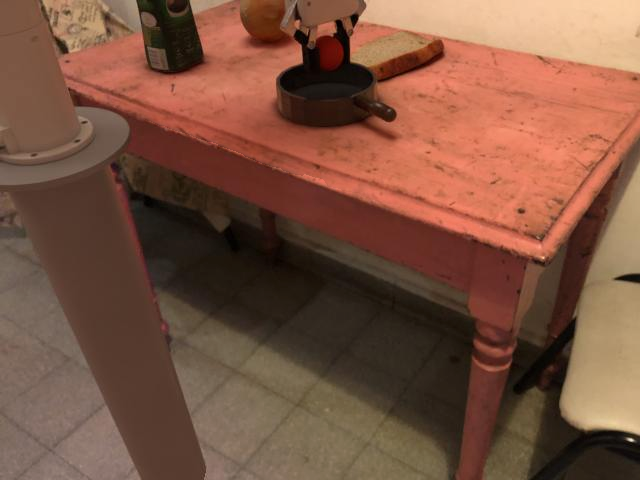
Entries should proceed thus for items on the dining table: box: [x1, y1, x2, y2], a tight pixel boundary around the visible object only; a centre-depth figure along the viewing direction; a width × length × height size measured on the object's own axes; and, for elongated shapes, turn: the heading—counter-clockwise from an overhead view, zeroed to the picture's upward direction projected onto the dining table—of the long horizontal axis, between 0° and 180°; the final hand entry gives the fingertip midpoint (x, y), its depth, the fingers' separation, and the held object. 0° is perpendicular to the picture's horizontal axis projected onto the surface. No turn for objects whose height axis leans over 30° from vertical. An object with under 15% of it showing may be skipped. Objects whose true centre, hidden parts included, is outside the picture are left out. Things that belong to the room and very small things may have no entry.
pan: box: [275, 62, 379, 127], centre depth 90 cm, size 15×15×4 cm
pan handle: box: [354, 94, 398, 123], centre depth 83 cm, size 2×8×2 cm, turn 40°
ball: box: [315, 34, 344, 71], centre depth 86 cm, size 5×5×5 cm
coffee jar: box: [135, 0, 205, 73], centre depth 99 cm, size 10×8×19 cm
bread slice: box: [350, 29, 445, 81], centre depth 102 cm, size 18×18×4 cm
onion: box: [239, 0, 286, 43], centre depth 110 cm, size 10×10×10 cm
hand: (327, 66), depth 88 cm, fingers closed on ball, 4 cm apart
